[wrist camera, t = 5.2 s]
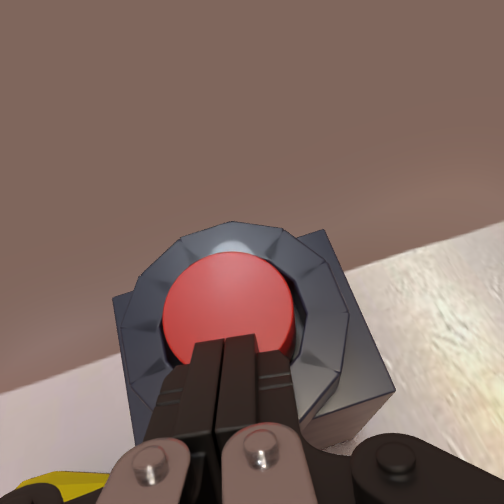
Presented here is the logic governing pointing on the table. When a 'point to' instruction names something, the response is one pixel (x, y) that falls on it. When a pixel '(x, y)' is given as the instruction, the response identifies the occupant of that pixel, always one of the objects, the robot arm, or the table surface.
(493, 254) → the table surface
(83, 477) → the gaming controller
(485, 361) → the table surface
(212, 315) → the button
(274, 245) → the button pillar
